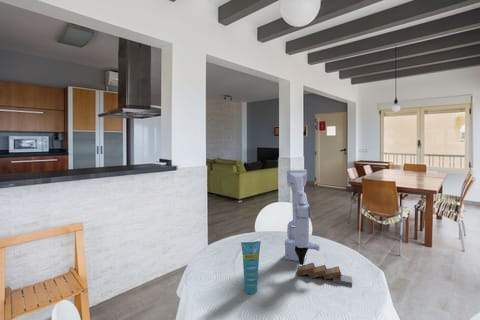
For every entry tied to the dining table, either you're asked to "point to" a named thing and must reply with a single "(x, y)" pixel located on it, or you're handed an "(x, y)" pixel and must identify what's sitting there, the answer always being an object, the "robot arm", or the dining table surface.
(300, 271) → the domino
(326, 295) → the dining table surface
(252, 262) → the tube
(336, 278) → the domino
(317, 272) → the domino
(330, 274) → the domino
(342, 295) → the dining table surface
